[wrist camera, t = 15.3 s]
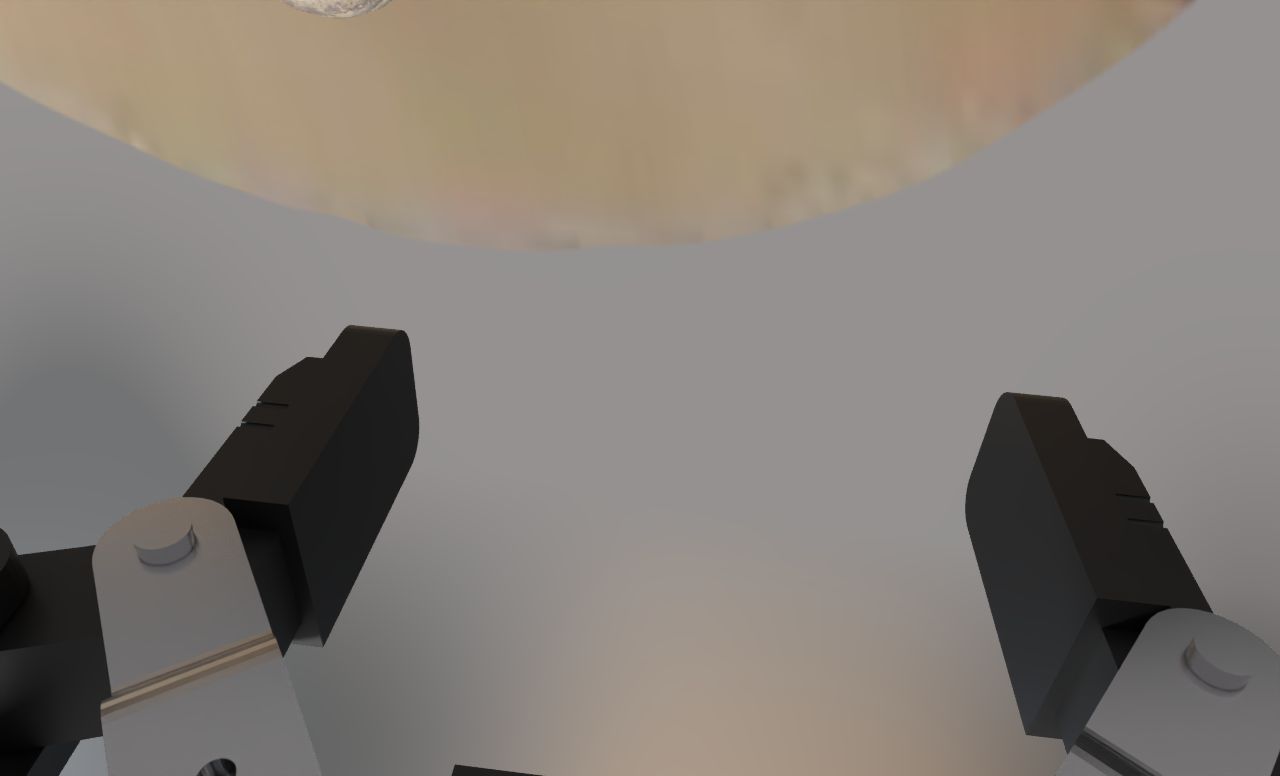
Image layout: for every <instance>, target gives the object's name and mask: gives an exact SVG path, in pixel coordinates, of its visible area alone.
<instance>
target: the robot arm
mask: <svg viewBox="0 0 1280 776" xmlns="http://www.w3.org/2000/svg"><path fill="white" fill-rule="evenodd" d="M418 438H419V415H418V407H417V398H416V390H415V381H414V373H413V365H412V356H411V348H410V342H409V338H408V336H407V334H406V333H405V331H403V330H395V329H384V328H375V327H364V326H355V325H349V326H347V327H346V328H345V329H344V330H343V331H342V333H341V334H340V336H339V337H338V338H337V340H336V341H335V343H334V344H333V345H332V347H331V348H330V349H329V351H328V352H327V353H326V355H325V356H324V358H314V357H306V358H305V359H303V360H302V361H300V362H298V363H297V364H295V365H294V366H292V367H290V368H289V369H287V370H286V371H284V372H282V373H281V374H279V375H278V376H276V377H275V378H274V380H273V381H272V382H271V384H270V385H269V386H268V388H267V389H266V390H265V391H264V393H263V394H262V395H261V396H260V398H259V399H258V400H257V405H256V406H253V407H252V408H251V409H250V411H249V412H248V413H247V415H246V416H245V417H244V418H243V420H242V421H241V426H240V427H236V429H235V430H234V431H233V432H232V434H231V435H230V436H229V438H228V439H227V440H226V441H225V443H224V444H223V445H222V447H221V448H220V449H219V451H218V452H217V453H216V454H215V456H214V457H213V458H212V459H211V461H210V462H209V463H208V465H207V466H206V467H205V468H204V470H203V471H202V472H201V474H200V475H199V476H198V477H197V479H196V480H195V481H194V483H193V484H192V485H191V486H190V488H189V489H188V490H187V492H186V493H185V494H184V495H183V497H181V498H173V499H167V500H163V501H159V502H155V503H152V504H149V505H147V506H144V507H142V508H140V509H137V510H135V511H133V512H131V513H129V514H128V515H126V516H124V517H123V518H121V519H120V520H119V521H117V522H116V523H115V524H113V525H112V526H111V527H110V528H109V529H108V530H107V531H106V532H105V533H104V534H103V536H102V537H101V538H100V539H99V541H98V543H97V545H93V546H87V547H78V548H70V549H63V550H56V551H47V552H40V553H32V554H23V555H18V554H17V553H16V551H15V549H14V547H13V545H12V543H11V541H10V539H9V537H8V535H7V534H6V533H5V532H4V531H3V530H2V529H1V528H0V776H59V774H60V773H61V771H62V770H63V768H64V766H65V765H66V763H67V761H68V760H69V758H70V756H71V755H72V753H73V752H74V750H75V749H76V747H77V745H78V744H79V742H80V740H83V739H89V738H95V737H100V736H103V738H104V745H105V752H106V760H107V766H108V774H109V776H322V773H321V770H320V767H319V764H318V761H317V758H316V755H315V752H314V749H313V746H312V743H311V741H310V737H309V734H308V731H307V728H306V726H305V723H304V720H303V717H302V714H301V711H300V708H299V705H298V702H297V699H296V696H295V693H294V690H293V687H292V684H291V681H290V678H289V675H288V673H287V669H286V667H285V663H284V660H283V657H284V655H285V653H286V652H287V650H288V648H289V646H290V644H299V645H307V646H316V647H324V645H325V642H326V641H327V638H328V637H329V634H330V632H331V630H332V628H333V626H334V624H335V622H336V620H337V618H338V616H339V614H340V612H341V610H342V608H343V605H344V604H345V601H346V599H347V597H348V595H349V593H350V591H351V589H352V587H353V585H354V583H355V581H356V579H357V577H358V575H359V573H360V571H361V569H362V567H363V564H364V562H365V560H366V558H367V556H368V554H369V552H370V550H371V548H372V546H373V544H374V542H375V540H376V538H377V535H378V534H379V532H380V529H381V527H382V525H383V523H384V521H385V519H386V517H387V515H388V513H389V511H390V509H391V507H392V505H393V503H394V500H395V498H396V497H397V494H398V492H399V490H400V488H401V486H402V484H403V482H404V480H405V478H406V476H407V474H408V472H409V470H410V468H411V466H412V463H413V460H414V458H415V454H416V450H417V445H418ZM965 514H966V522H967V527H968V531H969V534H970V538H971V541H972V545H973V549H974V552H975V556H976V559H977V563H978V566H979V570H980V574H981V577H982V581H983V584H984V588H985V591H986V595H987V598H988V602H989V605H990V609H991V613H992V616H993V620H994V623H995V627H996V630H997V634H998V637H999V641H1000V644H1001V648H1002V651H1003V655H1004V659H1005V662H1006V666H1007V669H1008V673H1009V676H1010V680H1011V684H1012V687H1013V691H1014V694H1015V697H1016V701H1017V705H1018V708H1019V711H1020V716H1021V719H1022V723H1023V726H1024V730H1025V733H1026V735H1031V736H1039V737H1048V738H1056V739H1063V742H1064V745H1065V749H1066V751H1067V754H1068V755H1067V757H1066V759H1065V760H1064V762H1063V764H1062V766H1061V767H1060V769H1059V770H1058V772H1057V774H1056V775H1055V776H1280V656H1279V655H1278V654H1277V653H1276V652H1275V651H1274V650H1273V649H1272V648H1271V647H1270V646H1269V645H1268V644H1266V643H1265V642H1264V641H1263V640H1262V639H1260V638H1259V637H1258V636H1256V635H1255V634H1253V633H1252V632H1251V631H1249V630H1247V629H1246V628H1244V627H1242V626H1240V625H1238V624H1237V623H1235V622H1233V621H1230V620H1228V619H1226V618H1224V617H1221V616H1219V615H1216V614H1214V613H1213V612H1212V610H1211V608H1210V606H1209V604H1208V603H1207V601H1206V599H1205V597H1204V595H1203V593H1202V591H1201V590H1200V588H1199V586H1198V584H1197V582H1196V580H1195V579H1194V577H1193V575H1192V573H1191V571H1190V569H1189V567H1188V566H1187V564H1186V562H1185V560H1184V558H1183V557H1182V555H1181V553H1180V551H1179V549H1178V547H1177V545H1176V544H1175V542H1174V540H1173V538H1172V536H1171V534H1170V532H1169V531H1168V529H1167V528H1163V520H1162V518H1161V516H1160V514H1159V512H1158V511H1157V509H1156V507H1155V505H1154V503H1150V496H1149V494H1148V492H1147V490H1146V488H1145V486H1144V485H1143V483H1142V481H1141V479H1140V477H1139V475H1138V474H1137V472H1136V470H1135V468H1134V467H1133V466H1132V465H1131V464H1130V463H1129V462H1128V461H1127V460H1125V459H1124V458H1123V457H1122V456H1121V455H1120V454H1119V453H1118V452H1117V451H1115V450H1114V449H1113V448H1112V447H1111V446H1110V445H1109V444H1108V443H1106V442H1105V441H1104V440H1099V439H1091V438H1087V436H1086V434H1085V432H1084V430H1083V429H1082V426H1081V424H1080V422H1079V420H1078V418H1077V416H1076V414H1075V412H1074V410H1073V408H1072V406H1071V404H1070V403H1069V401H1068V400H1067V399H1065V398H1060V397H1050V396H1040V395H1030V394H1020V393H1010V392H1006V393H1003V394H1002V395H1001V397H1000V398H999V400H998V401H997V403H996V406H995V408H994V411H993V414H992V417H991V419H990V422H989V425H988V428H987V431H986V434H985V437H984V439H983V442H982V445H981V448H980V451H979V453H978V456H977V459H976V462H975V465H974V467H973V470H972V473H971V476H970V479H969V483H968V487H967V492H966V504H965ZM452 776H541V775H533V774H525V773H517V772H509V771H501V770H494V769H486V768H478V767H470V766H462V765H455V766H454V769H453V773H452Z"/></svg>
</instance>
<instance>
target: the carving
mask: <svg viewBox="0 0 1280 776" xmlns="http://www.w3.org/2000/svg"><path fill="white" fill-rule="evenodd" d="M280 1H281V2H283V3H284V4H286V5H288V6H290V7H292V8H295V9H297V10H300V11H303V12H308V13H312V14H315V15H319V16H323V17H328V18H350V17H354V16H359V15H363V14H366V13H368V12H371V11H374V10H377V9H380V8H382V7H383V6H385V5H386V4H387V3H389V2H390V1H391V0H280Z"/></svg>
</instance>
